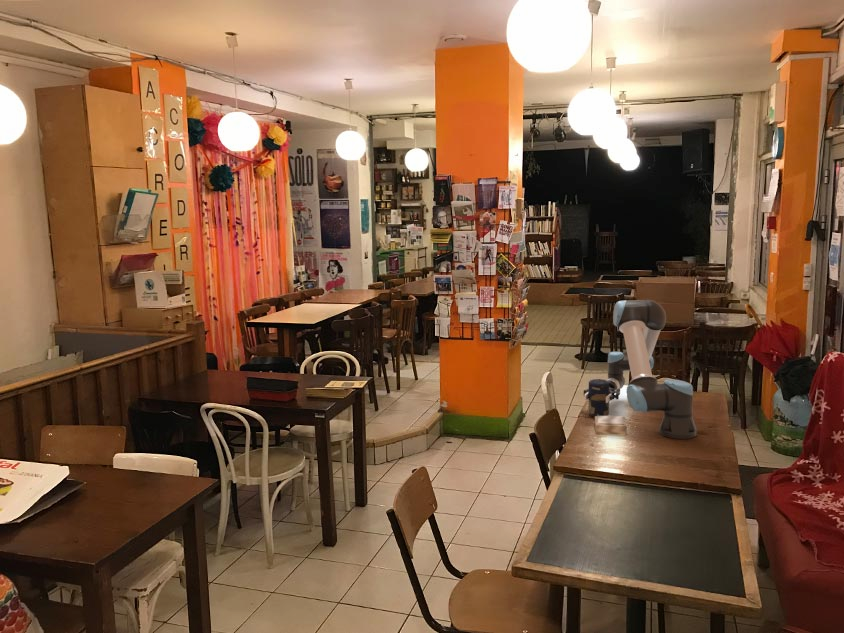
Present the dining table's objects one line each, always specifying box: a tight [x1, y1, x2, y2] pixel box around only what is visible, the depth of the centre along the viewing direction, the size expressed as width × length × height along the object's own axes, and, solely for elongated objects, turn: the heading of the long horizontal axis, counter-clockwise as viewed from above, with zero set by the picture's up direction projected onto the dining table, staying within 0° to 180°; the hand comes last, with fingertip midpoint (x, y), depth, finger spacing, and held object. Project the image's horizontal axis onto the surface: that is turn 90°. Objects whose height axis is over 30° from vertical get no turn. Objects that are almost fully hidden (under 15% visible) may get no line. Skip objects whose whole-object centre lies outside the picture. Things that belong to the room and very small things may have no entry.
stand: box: [594, 415, 628, 435], centre depth 305 cm, size 13×13×5 cm
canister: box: [587, 378, 610, 418], centre depth 325 cm, size 10×10×18 cm
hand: (595, 398), depth 321 cm, fingers closed on canister, 9 cm apart
